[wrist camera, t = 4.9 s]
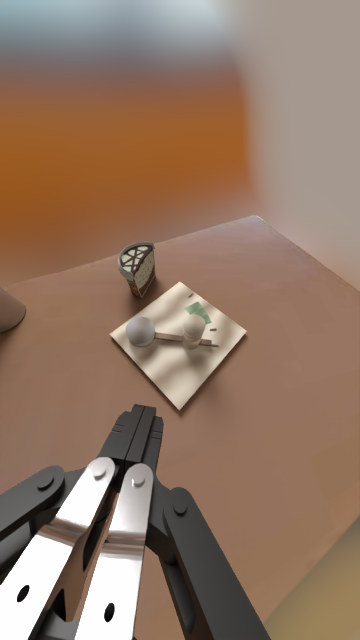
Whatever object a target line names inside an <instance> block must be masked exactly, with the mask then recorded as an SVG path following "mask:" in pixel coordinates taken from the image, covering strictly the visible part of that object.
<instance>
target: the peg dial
mask: <svg viewBox="0 0 360 640" xmlns="http://www.w3.org/2000/svg"><path fill="white" fill-rule="evenodd" d="M205 326H206V323H205V320H204V319H203V318H202V317H201V316H199V315H196V314H192V315H189V316H187V317H186V318H185V320H184V325H183V334H182V336H179V335H172V334H165V333H157V332H155V327H154V324H153V322H152V321H151V320H150V319H149V318H146V317H136V318H134V319H132V320H131V321H130V322H129V323H128V324H127V326H126V335H127V337H128V338H129V340H130V342H131V343H132V344H133V345H134V346H136V347H146V346H148V345H150V344H151V343H152V342H153V341H154V339H161V340H168V341H175V342H182V344H183V346H184V347H185V348H186V349H189V350H193V349H196V348H197V347H198V346H199V345H203V346H210V347H211V345H212V340H207V339H201V338H202V335H203V332H204V329H205Z"/></svg>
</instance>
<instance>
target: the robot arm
mask: <svg viewBox="0 0 360 640" xmlns="http://www.w3.org/2000/svg"><path fill="white" fill-rule="evenodd" d="M25 310H26V309H25V306H24V305H23V304H22V303H21V302H19V301H18V300H17V299H16V298H14V297H13V296H12V295H10V294H9V293H8V292H7V291H5V290H4V289H3V288H1V287H0V333H1V332H4V331H7V330H9V329H11V328H13V327H14V326H16V325H17V324H18V323H19V322H20V321H21V320H22V319H23V317H24V315H25ZM163 426H164V424H163V420H162V417H157V416H156V408H155V407H149V406H144V405H137V404H135V405H134V406H133V408H132V411H131V412H127V411H125V412H124V413H123V414H121V415H120V416H119V417H118V419H117V421H116V423H115V426H114V427H113V429H112V431H111V432H110V434H109V436H108V438H107V440H106V442H105V443H104V445H103V447H102V449H101V451H100V453H99V455H98V456H97V458H96V459H95V460H94V461H93V462H91V463H90V464H89V465H88V466H87V467H85V468H83V469H80V470H75V471H70V472H64V470H63V468H62V467H60V466H50V467H47V468H45V469H43V470H41V471H39V472H38V473H36V474H34V475H33V476H31V477H29V478H28V479H26V480H24V481H23V482H21V483H19V484H18V485H16V486H14V487H13V488H11V489H9V490H8V491H6V492H4V493H2V494H1V495H0V585H1V584H2V583H3V582H4V583H3V584H2V586H1V587H0V640H137V639H136V638H135V637H134V628H135V620H136V613H137V605H138V597H139V589H140V581H141V573H142V566H143V558H144V550H145V545H146V546H147V547H148V548H149V549H151V550H152V551H153V552H154V553H155V554H156V555H158V556H159V560H160V563H161V566H162V569H163V572H164V575H165V579H166V582H167V585H168V588H169V591H170V594H171V597H172V600H173V603H174V606H175V609H176V613H177V616H178V619H179V622H180V625H181V628H182V631H183V634H184V637H185V640H271V639H270V637H269V635H268V634H267V631H266V630H265V628H264V626H263V624H262V622H261V621H260V619H259V617H258V615H257V613H256V611H255V610H254V608H253V606H252V604H251V602H250V601H249V599H248V597H247V595H246V593H245V592H244V590H243V588H242V586H241V584H240V582H239V581H238V579H237V577H236V575H235V573H234V572H233V570H232V568H231V566H230V564H229V563H228V561H227V559H226V557H225V555H224V553H223V552H222V550H221V548H220V546H219V544H218V543H217V541H216V539H215V537H214V535H213V534H212V532H211V530H210V528H209V526H208V524H207V523H206V521H205V519H204V517H203V515H202V514H201V512H200V510H199V508H198V506H197V505H196V503H195V501H194V499H193V497H192V496H191V494H190V493H189V492H188V491H187V490H186V489H184V488H181V487H176V488H173V489H172V490H169V489H168V488H166V487H165V486H163V485H162V484H161V483H160V482H159V481H158V479H157V477H156V468H157V463H158V458H159V452H160V447H161V442H162V434H163ZM117 493H120V495H119V498H118V502H117V505H116V509H115V513H114V516H113V520H112V523H111V527H110V530H109V534H108V537H107V539H106V540H105V542H104V544H103V547H102V549H101V553H100V556H99V559H98V563H97V566H96V570H95V573H94V577H93V580H92V584H91V587H90V590H89V594H88V597H87V601H86V604H85V608H84V611H83V615H82V618H81V619H78V620H75V621H73V618H74V616H75V613H76V610H77V608H78V605H79V602H80V599H81V595H82V592H83V588H84V584H85V580H86V577H87V574H88V572H89V569H90V567H91V564H92V562H93V559H94V557H95V554H96V552H97V549H98V547H99V544H100V542H101V539H102V537H103V534H104V532H105V530H106V527H107V525H108V522H109V520H110V517H111V515H112V512H113V502H114V499H115V497H116V494H117Z"/></svg>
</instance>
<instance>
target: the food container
mask: <svg viewBox="0 0 360 640" xmlns="http://www.w3.org/2000/svg"><path fill="white" fill-rule="evenodd" d="M154 249H155V247H154V244H153V243H152V242H138V243H134V244H131V245H129V246H127V247H126V248H124V249H123V251H122V252H121V253H120V255H119V259H118V265H119V271H120V273H121V274H122V275H123V276H124V277H125V278H126V279H127V282H128V284H129V286H130V288H131V290H132V292H133V294H134V295H136V296H137V297H139V298H141V299H142V297H143V295H144V294H145V292H146V290H147V288H148V287H149V285H150V283H151V282H152V280H153V278H154V277H155V262H154Z"/></svg>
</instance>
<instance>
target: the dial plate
mask: <svg viewBox="0 0 360 640" xmlns="http://www.w3.org/2000/svg"><path fill="white" fill-rule="evenodd" d="M192 314H196V315H199V316H201V317H202V318H203V319H204V320H205V323H206V326H205V329H204V332H203V335H202V338H201V339H207V340H212V345H211V347H210V346H203V345H199V346H198V347H197V348H196V349H193V350H189V349H186V348H185V347H184V346H183V344H182V342H175V341H168V340H161V339H154V341H153V342H152V343H151V344H150V345H148V346H146V347H136V346H134V345H133V344H132V343H131V342H130V340H129V338H128V337H127V335H126V326H127V324H128V323H129V322H130V321H131V320H132V319H134V318H136V317H146V318H149V319H150V320H151V321H152V322H153V324H154V327H155V332H157V333H165V334H172V335H179V336H182V334H183V325H184V320H185V318H186V317H187V316H189V315H192ZM245 333H246V330H244V329H243V328H242V327H240V326H239V325H238V324H236V323H235V322H234V321H232V320H231V319H230V318H228V317H227V316H226V315H224V314H223V313H221V312H220V311H219V310H217V309H216V308H215V307H213V306H212V305H211V304H209V303H208V302H207V301H205V300H204V299H203V298H201V297H200V296H199V295H197V294H196V293H194V292H193V291H192V290H190V289H189V288H188V287H186V286H185V285H184V284H182V283H181V282H179V283H178V284H176V285H175V286H173V287H172V288H171V289H169V290H168V291H167V292H165V293H164V294H163V295H161V296H160V297H159V298H157V299H156V300H155V301H153V302H152V303H151V304H149V305H148V306H147V307H145V308H144V309H143V310H141V311H140V312H139V313H137V314H136V315H135V316H133V317H132V318H131V319H129V320H128V321H127V322H125V323H124V324H123V325H121V326H120V327H119V328H117V329H116V330H115V331H113V332H112V333H111V334H110V335H111V336H112V337H113V339H114V340H115V341H116V342H117V343H118V344H119V345H120V346H121V347H122V348H123V350H124V351H125V352H126V353H127V354H128V355H129V356H130V357H131V358H132V359H133V361H134V362H135V363H136V364H137V365H138V366H139V367H140V368H141V369H142V370H143V372H144V373H145V374H146V375H147V376H148V377H149V378H150V379H151V380H152V381H153V382H154V384H155V385H156V386H157V387H158V388H159V389H160V390H161V391H162V392H163V393H164V395H165V396H166V397H167V398H168V399H169V400H170V401H171V402H172V403H173V404H174V406H175V407H176V408H177V409H178V410H180V409H181V408H182V407H183V406H184V404H185V403H186V402H187V401H188V400H189V399H190V397H191V396H192V395H193V394H194V393H195V392H196V390H197V389H198V388H199V387H200V386H201V384H202V383H203V382H204V381H205V380H206V379H207V377H208V376H209V375H210V374H211V373H212V371H213V370H214V369H215V368H216V367H217V366H218V364H219V363H220V362H221V361H222V360H223V359H224V357H225V356H226V355H227V354H228V353H229V351H230V350H231V349H232V348H233V347H234V346H235V344H236V343H237V342H238V341H239V340H240V338H241V337H242V336H243V335H244V334H245Z"/></svg>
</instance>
